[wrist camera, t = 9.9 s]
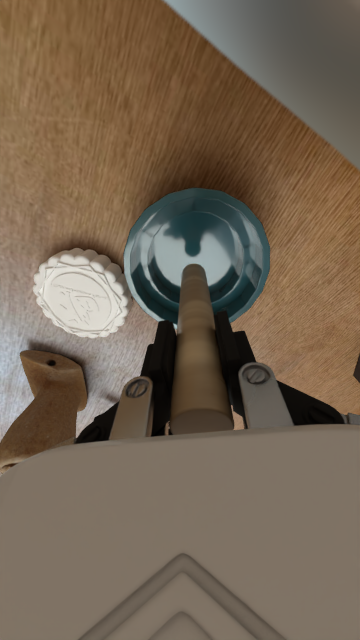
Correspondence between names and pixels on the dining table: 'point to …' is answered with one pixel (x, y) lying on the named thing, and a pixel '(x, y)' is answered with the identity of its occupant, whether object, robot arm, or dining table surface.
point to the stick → (198, 363)
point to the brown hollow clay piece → (45, 407)
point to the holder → (357, 370)
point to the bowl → (196, 252)
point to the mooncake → (83, 293)
